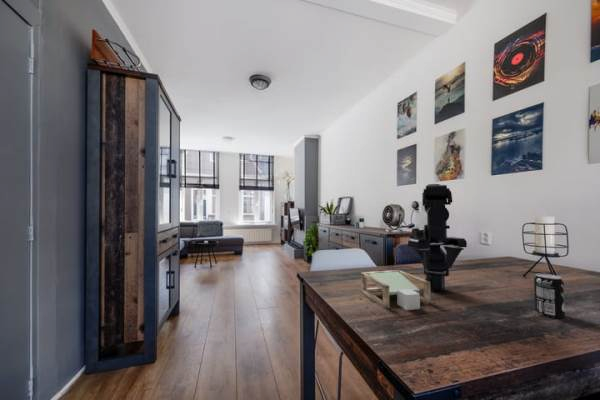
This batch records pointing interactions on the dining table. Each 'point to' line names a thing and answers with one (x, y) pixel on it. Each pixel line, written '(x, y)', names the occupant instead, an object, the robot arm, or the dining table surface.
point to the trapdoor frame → (386, 287)
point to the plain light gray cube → (408, 299)
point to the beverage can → (549, 295)
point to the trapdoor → (394, 282)
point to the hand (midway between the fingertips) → (437, 268)
